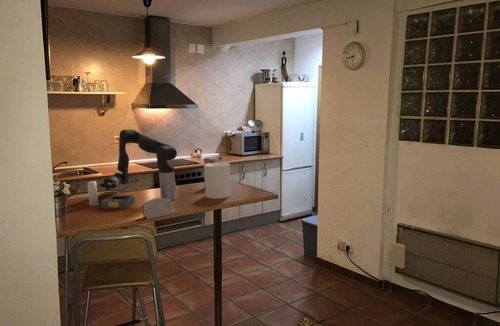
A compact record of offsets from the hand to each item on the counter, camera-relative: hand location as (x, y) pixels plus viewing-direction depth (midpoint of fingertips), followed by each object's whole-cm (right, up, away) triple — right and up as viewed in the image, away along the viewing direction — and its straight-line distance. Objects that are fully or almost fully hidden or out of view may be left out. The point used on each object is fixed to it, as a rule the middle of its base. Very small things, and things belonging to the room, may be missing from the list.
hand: (100, 187), depth 250 cm
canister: (+73, -6, +5) cm, 73 cm away
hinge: (+44, -12, -35) cm, 58 cm away
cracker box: (+67, -1, +37) cm, 77 cm away
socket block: (+16, -10, -14) cm, 24 cm away
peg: (0, -10, -9) cm, 13 cm away
